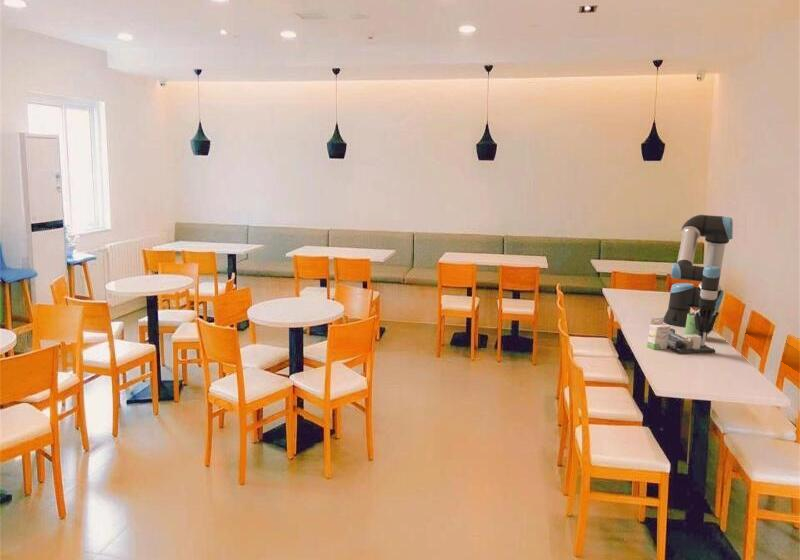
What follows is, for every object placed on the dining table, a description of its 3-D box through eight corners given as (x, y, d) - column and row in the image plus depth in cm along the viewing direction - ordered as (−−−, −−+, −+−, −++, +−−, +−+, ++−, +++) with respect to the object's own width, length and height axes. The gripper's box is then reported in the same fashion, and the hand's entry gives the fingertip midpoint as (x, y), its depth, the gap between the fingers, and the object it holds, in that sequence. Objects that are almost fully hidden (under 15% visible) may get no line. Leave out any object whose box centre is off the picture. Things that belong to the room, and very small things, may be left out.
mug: (684, 338, 328) (688, 316, 326) (683, 333, 338) (686, 312, 335) (711, 342, 324) (714, 319, 321) (709, 336, 333) (712, 315, 331)
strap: (669, 332, 321) (670, 330, 320) (693, 344, 303) (693, 342, 303) (665, 332, 320) (665, 331, 320) (688, 344, 302) (689, 342, 302)
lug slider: (694, 346, 308) (696, 334, 307) (699, 348, 304) (701, 336, 303) (680, 346, 307) (681, 334, 305) (685, 349, 303) (687, 337, 301)
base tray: (685, 339, 326) (687, 327, 325) (714, 353, 305) (716, 340, 304) (651, 340, 322) (653, 328, 320) (678, 353, 301) (680, 341, 299)
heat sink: (679, 341, 317) (680, 336, 317) (689, 346, 309) (690, 340, 309) (665, 341, 315) (666, 336, 315) (675, 346, 308) (676, 341, 307)
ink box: (654, 349, 306) (658, 320, 303) (646, 346, 310) (650, 318, 307) (667, 348, 309) (671, 319, 306) (659, 345, 313) (663, 317, 310)
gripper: (714, 296, 307) (707, 342, 311) (691, 296, 304) (685, 342, 309) (725, 299, 299) (718, 346, 304) (701, 300, 297) (695, 347, 302)
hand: (701, 344), depth 306 cm, fingers closed
